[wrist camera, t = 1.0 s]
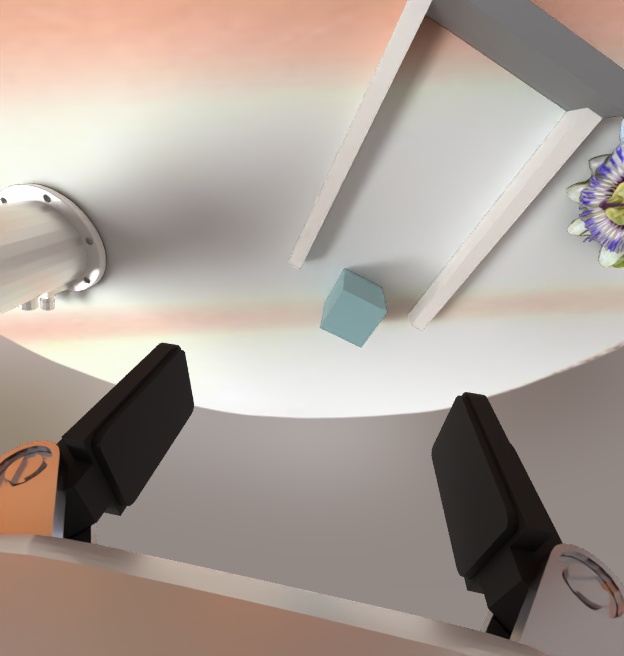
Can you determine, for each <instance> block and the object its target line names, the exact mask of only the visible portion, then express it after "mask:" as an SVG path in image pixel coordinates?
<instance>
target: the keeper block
mask: <svg viewBox="0 0 624 656" xmlns="http://www.w3.org/2000/svg"><path fill="white" fill-rule="evenodd" d="M386 313H387V307H386V303H385V298H384V293H383V289H382V288H381V287H379V286H377V285H376V284H374V283H372V282H370V281H368V280H366V279H364V278H362V277H360V276H358V275H356V274H354V273H353V272H351V271H349V270H347V269H344V270H343V272H342V274H341V275H340V277H339V279H338V281H337V282H336V284H335V286H334V287H333V289H332V291H331V293H330V294H329V296H328V298H327V300H326V301H325V303H324V309H323V314H322V320H321V325H320V328H321V329H323V330H326V331H328V332H330V333H332V334H334V335H336V336H338V337H340V338H342V339H344V340H346V341H348V342H350V343H352V344H355V345H357V346H359V347H362V346H363V345H364V343H365V342H366V341H367V339H368V338H369V336H370V335H371V334H372V332H373V331H374V330H375V328H376V327H377V326H378V324H379V323H380V322H381V320H382V319H383V317H384V316H385V315H386Z"/></svg>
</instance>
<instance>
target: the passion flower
mask: <svg viewBox="0 0 624 656" xmlns="http://www.w3.org/2000/svg"><path fill="white" fill-rule="evenodd" d="M620 141H621V143H620V145H619V146H618V147H617V148H616V149H614V150H613V153H612V154H606V155H601V156H597V157H594V158H592V159H590V160H589V167H590V169H591V170H592V176H591V178H590V179H588V180H587V181H585V182H581V183H577V184H574V185H572V186H570V187H568V188H567V193H568V196H569V198H570V199H572V200H573V201H575V202H577V203H579V204H581V206H580V207H579V209H582V211H583V212H582V214H580V215H579V216H580V217H579V218H577V219H575V220H573V221H572V223H571V224H570V225H569V226H568V228H567V232H568V233H570V234H573V235H576V236H589V237H588V238H586V239H585V240H584V241H583V242H585V241H586V240H587V239H590V240H589V242H590V241H591V240H595V241H597V242H598V243H600V244H601V249H600V251H599V252H600V254H599V257H598V261H599V264H600V265H601V266H602V267H609V266H614V267H617V268H620V267H624V117H623V119H622V122H621V128H620Z"/></svg>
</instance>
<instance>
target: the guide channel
mask: <svg viewBox="0 0 624 656" xmlns="http://www.w3.org/2000/svg"><path fill="white" fill-rule="evenodd" d="M425 15H427V16H428V17H430V18H431V19H433V20H434V21H435V22H437V23H438V24H440V25H441V26H443V27H444V28H446V29H447V30H449V31H450V32H452V33H453V34H455V35H456V36H457V37H459V38H460V39H462V40H463V41H465V42H466V43H468V44H469V45H471V46H472V47H474V48H475V49H476V50H478V51H479V52H481V53H482V54H484V55H485V56H487V57H488V58H490V59H491V60H493V61H494V62H495V63H497V64H498V65H500V66H501V67H503V68H504V69H506V70H507V71H509V72H510V73H512V74H513V75H514V76H516V77H517V78H519V79H520V80H522V81H523V82H525V83H526V84H528V85H529V86H531V87H532V88H534V89H535V90H536V91H538V92H539V93H541V94H542V95H544V96H545V97H547V98H548V99H550V100H551V101H553V102H554V103H555V104H557V105H558V106H560V107H561V108H563V109H564V110H566V111H567V112H566V113H565V115H564V116H563V117H562V118H561V120H560V121H559V122H558V124H557V125H556V126H555V127H554V129H553V130H552V131H551V132H550V134H549V135H548V136H547V138H546V139H545V140H544V141H543V143H542V144H541V145H540V146H539V148H538V149H537V150H536V152H535V153H534V154H533V155H532V157H531V158H530V159H529V161H528V162H527V163H526V164H525V166H524V167H523V168H522V169H521V171H520V172H519V173H518V175H517V176H516V177H515V178H514V180H513V181H512V182H511V183H510V185H509V186H508V187H507V189H506V190H505V191H504V192H503V194H502V195H501V196H500V198H499V199H498V200H497V201H496V203H495V204H494V205H493V206H492V208H491V209H490V210H489V212H488V213H487V214H486V215H485V217H484V218H483V219H482V221H481V222H480V223H479V224H478V226H477V227H476V228H475V229H474V231H473V232H472V233H471V235H470V236H469V237H468V238H467V240H466V241H465V242H464V243H463V245H462V246H461V247H460V249H459V250H458V251H457V252H456V254H455V255H454V256H453V258H452V259H451V260H450V261H449V263H448V264H447V265H446V266H445V268H444V269H443V270H442V272H441V273H440V274H439V275H438V277H437V278H436V279H435V280H434V282H433V283H432V284H431V286H430V287H429V288H428V289H427V291H426V292H425V293H424V295H423V296H422V297H421V298H420V300H419V301H418V302H417V303H416V305H415V306H414V307H413V309H412V310H411V311H410V312H409V314H408V318H409V321H410V324H411V326H413V327H415V328H417V329H419V330H421V331H423V329H424V328H425V327H426V326H427V325H428V324H429V322H430V321H431V320H432V319H433V318H434V316H435V315H436V314H437V313H438V312H439V311H440V309H441V308H442V307H443V306H444V305H445V303H446V302H447V301H448V300H449V299H450V298H451V296H452V295H453V294H454V293H455V292H456V290H457V289H458V288H459V287H460V286H461V285H462V283H463V282H464V281H465V280H466V279H467V278H468V276H469V275H470V274H471V273H472V272H473V270H474V269H475V268H476V267H477V266H478V265H479V263H480V262H481V261H482V260H483V259H484V257H485V256H486V255H487V254H488V253H489V252H490V250H491V249H492V248H493V247H494V246H495V244H496V243H497V242H498V241H499V240H500V239H501V237H502V236H503V235H504V234H505V233H506V231H507V230H508V229H509V228H510V227H511V226H512V224H513V223H514V222H515V221H516V220H517V219H518V217H519V216H520V215H521V214H522V213H523V211H524V210H525V209H526V208H527V207H528V206H529V204H530V203H531V202H532V201H533V200H534V198H535V197H536V196H537V195H538V194H539V193H540V191H541V190H542V189H543V188H544V187H545V185H546V184H547V183H548V182H549V181H550V180H551V178H552V177H553V176H554V175H555V174H556V172H557V171H558V170H559V169H560V168H561V167H562V165H563V164H564V163H565V162H566V161H567V160H568V158H569V157H570V156H571V155H572V154H573V152H574V151H575V150H576V149H577V148H578V147H579V145H580V144H581V143H582V142H583V141H584V139H585V138H586V137H587V136H588V135H589V134H590V132H591V131H592V130H593V129H594V128H595V126H596V125H597V124H598V123H599V122H600V121H601V119H602V118H607V117H615V116H623V115H624V69H622V68H621V67H620V66H618V65H617V64H615V63H614V62H613V61H611V60H610V59H609V58H607V57H606V56H605V55H603V54H602V53H600V52H599V51H598V50H596V49H595V48H594V47H592V46H591V45H590V44H588V43H587V42H585V41H584V40H583V39H581V38H580V37H579V36H577V35H576V34H575V33H573V32H572V31H570V30H569V29H568V28H566V27H565V26H564V25H562V24H561V23H560V22H558V21H557V20H555V19H554V18H553V17H551V16H550V15H549V14H547V13H546V12H545V11H543V10H542V9H540V8H539V7H538V6H536V5H535V4H534V3H532V2H531V1H530V0H408V1H407V4H406V6H405V8H404V10H403V12H402V14H401V17H400V19H399V21H398V23H397V25H396V28H395V30H394V32H393V34H392V36H391V38H390V41H389V43H388V45H387V47H386V49H385V51H384V54H383V56H382V58H381V60H380V62H379V65H378V67H377V69H376V71H375V73H374V75H373V78H372V80H371V82H370V84H369V86H368V89H367V91H366V93H365V95H364V97H363V99H362V102H361V104H360V106H359V108H358V110H357V113H356V115H355V117H354V119H353V121H352V123H351V126H350V128H349V130H348V132H347V134H346V137H345V139H344V141H343V143H342V145H341V147H340V150H339V152H338V154H337V156H336V158H335V160H334V163H333V165H332V167H331V169H330V171H329V174H328V176H327V178H326V180H325V182H324V184H323V187H322V189H321V191H320V193H319V195H318V198H317V200H316V202H315V204H314V206H313V208H312V211H311V213H310V215H309V217H308V219H307V222H306V224H305V226H304V228H303V230H302V232H301V235H300V237H299V239H298V241H297V243H296V246H295V248H294V250H293V252H292V254H291V256H290V259H289V261H288V263H289V264H291V265H293V266H295V267H297V268H299V269H301V267H302V265H303V263H304V261H305V259H306V256H307V254H308V252H309V250H310V248H311V246H312V244H313V242H314V240H315V238H316V236H317V234H318V232H319V230H320V228H321V226H322V224H323V222H324V220H325V218H326V216H327V214H328V212H329V210H330V208H331V206H332V203H333V201H334V199H335V197H336V195H337V193H338V191H339V189H340V187H341V185H342V183H343V181H344V179H345V177H346V175H347V173H348V171H349V169H350V167H351V165H352V163H353V161H354V159H355V157H356V155H357V153H358V150H359V148H360V146H361V144H362V142H363V140H364V138H365V136H366V134H367V132H368V130H369V128H370V126H371V124H372V122H373V120H374V118H375V116H376V114H377V112H378V110H379V108H380V106H381V104H382V102H383V100H384V97H385V95H386V93H387V91H388V89H389V87H390V85H391V83H392V81H393V79H394V77H395V75H396V73H397V71H398V69H399V67H400V65H401V63H402V61H403V59H404V57H405V55H406V53H407V51H408V49H409V47H410V44H411V42H412V40H413V38H414V36H415V34H416V32H417V30H418V28H419V26H420V24H421V22H422V20H423V18H424V16H425Z"/></svg>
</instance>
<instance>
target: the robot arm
mask: <svg viewBox="0 0 624 656" xmlns="http://www.w3.org/2000/svg"><path fill="white" fill-rule="evenodd" d="M105 267H106V256H105V250H104V246H103V243H102V240H101V238H100V236H99V234H98V232H97V230H96V229H95V227H94V226H93V224H92V223H91V221H90V220H89V219H88V217H87V216H86V215H85V214H84V213H83V211H82V210H80V209H79V208H78V207H77V206H76V205H75V204H74V203H73V202H72V201H70V200H69V199H67V198H66V197H65V196H63V195H62V194H60V193H58V192H56V191H54V190H52V189H50V188H47V187H45V186H42V185H37V184H17V185H12V186H9V187H7V188H5V189H4V190H2V191H1V192H0V314H2V313H4V312H7V311H9V310H11V309H13V308H15V307H17V306H18V307H19V308H20V309H22V310H34V309H36V308H37V307H38V297H39V296H40V297H41V298H40V305H41V309H43V310H53V309H54V308H55V300H54V296H55V295H56V294H58V293H60V292H62V291H70V292H72V291H82V290H86V289H88V288H90V287H92V286H94V285H95V284H96V283H98V282H99V281H100V279H101V278H102V276H103V274H104V271H105ZM193 408H194V401H193V396H192V390H191V384H190V379H189V373H188V367H187V362H186V356H185V352H184V351H183V350H181V348H180V346H178V345H174V344H168V343H160V344H159V345H158V346H156V347H155V348H154V349H153V350H152V351H151V352H150V353H149V354H148V355H147V356H146V357H145V358H144V359H143V360H142V361H141V362H140V363H139V364H138V365H137V366H136V367H134V368H133V369H132V370H131V371H130V372H129V373H128V374H127V375H126V376H125V377H124V378H123V379H122V380H121V381H120V382H119V383H118V384H117V385H116V386H115V387H114V388H113V389H111V390H110V391H109V392H108V393H107V394H106V395H105V396H104V397H103V398H102V399H101V400H100V401H99V402H98V403H97V404H96V405H95V406H94V407H93V408H91V409H90V411H88V412H87V413H86V414H85V415H84V416H83V417H82V418H81V419H80V420H79V421H78V422H77V423H76V424H75V425H74V426H73V427H72V428H71V429H70V430H68V431H67V433H65V434H64V435H63V436H62V439H61V440H60V441H59V442H58V443H57V444H55V443H53V442H50V441H36V442H31V443H27V444H24V445H22V446H19V447H17V448H15V449H13V450H11V451H10V452H8V453H6V454H4V455H3V456H2V457H1V458H0V656H624V586H623V584H622V583H621V581H620V580H619V578H618V577H617V576H616V575H615V574H614V573H613V572H612V571H611V569H610V568H609V567H608V566H607V565H605V564H604V563H603V562H602V561H601V560H600V559H598V558H597V557H596V556H594V555H593V554H591V553H590V552H588V551H586V550H584V549H583V548H580V547H578V546H575V545H573V544H565V543H562V541H561V539H560V537H559V535H558V533H557V531H556V529H555V527H554V525H553V523H552V521H551V519H550V518H549V515H548V513H547V512H546V510H545V508H544V506H543V504H542V502H541V500H540V498H539V496H538V494H537V492H536V490H535V488H534V486H533V484H532V482H531V480H530V478H529V476H528V474H527V472H526V470H525V468H524V466H523V464H522V463H521V461H520V459H519V457H518V454H517V452H516V451H515V449H514V447H513V446H512V445H511V444H510V442H509V441H508V438H507V437H506V435H505V432H504V430H503V429H502V426H501V425H500V423H499V421H498V419H497V417H496V415H495V413H494V411H493V409H492V407H491V405H490V403H489V401H488V399H487V397H486V396H485V395H481V394H474V393H468V392H465V393H463V395H462V396H457V397H456V399H455V401H454V403H453V405H452V407H451V410H450V412H449V414H448V416H447V418H446V420H445V422H444V424H443V426H442V428H441V431H440V433H439V435H438V437H437V439H436V441H435V443H434V445H433V448H432V460H433V465H434V469H435V474H436V478H437V483H438V487H439V491H440V496H441V500H442V505H443V509H444V514H445V518H446V523H447V527H448V532H449V535H450V540H451V545H452V549H453V553H454V558H455V563H456V567H457V570H458V573H459V574H460V576H463V577H464V578H465V583H466V587H467V590H468V591H473V592H477V593H482V594H484V595H485V599H486V602H487V606H488V609H489V612H488V614H487V616H486V618H485V621H484V623H483V625H482V627H481V630H480V631H477V630H473V629H469V628H465V627H461V626H457V625H453V624H449V623H444V622H441V621H437V620H432V619H428V618H425V617H420V616H416V615H412V614H407V613H403V612H398V611H394V610H390V609H386V608H381V607H377V606H372V605H368V604H364V603H359V602H355V601H351V600H346V599H341V598H337V597H333V596H329V595H324V594H320V593H316V592H311V591H307V590H302V589H298V588H293V587H289V586H284V585H280V584H276V583H271V582H267V581H262V580H258V579H253V578H249V577H244V576H240V575H235V574H231V573H226V572H221V571H217V570H213V569H208V568H203V567H199V566H195V565H190V564H185V563H181V562H176V561H172V560H167V559H163V558H158V557H154V556H149V555H144V554H140V553H135V552H131V551H126V550H122V549H116V548H111V547H106V546H101V545H97V521H98V520H99V519H100V517H101V516H102V514H103V513H104V512H105V513H109V514H114V515H119V516H121V514H122V513H123V511H124V510H125V508H126V506H130V505H132V504H133V503H134V502H135V500H136V499H137V497H138V496H139V494H140V492H141V491H142V490H143V488H144V486H145V485H146V483H147V482H148V480H149V479H150V477H151V476H152V474H153V472H154V471H155V469H156V468H157V466H158V465H159V463H160V462H161V460H162V459H163V457H164V456H165V454H166V453H167V451H168V450H169V448H170V446H171V445H172V443H173V442H174V440H175V439H176V437H177V436H178V434H179V433H180V431H181V429H182V428H183V426H184V425H185V423H186V422H187V420H188V419H189V417H190V416H191V414H192V412H193Z"/></svg>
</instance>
